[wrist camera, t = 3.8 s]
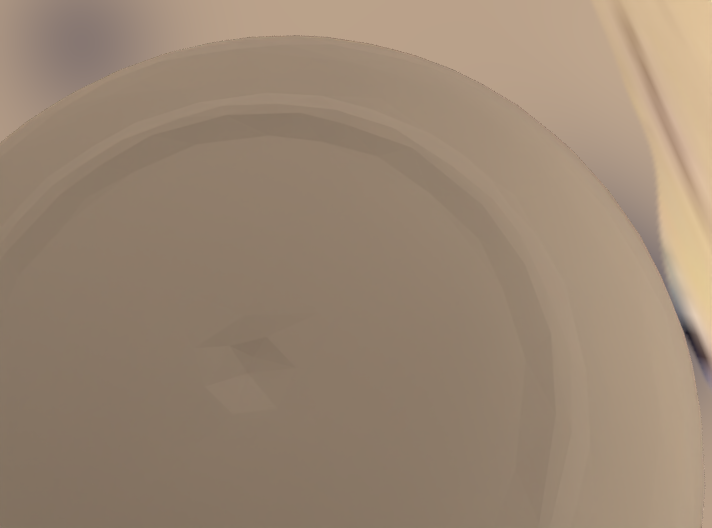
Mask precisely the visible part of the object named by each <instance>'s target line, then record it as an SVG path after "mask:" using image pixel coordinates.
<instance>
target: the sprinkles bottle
mask: <svg viewBox="0 0 712 528" xmlns="http://www.w3.org/2000/svg"><path fill="white" fill-rule="evenodd" d="M704 475H705V474H704V457H703V439H702V422H701V412H700V406H699V400H698V394H697V388H696V383H695V377H694V371H693V366H692V362H691V358H690V354H689V350H688V347H687V343H686V339H685V335H684V332H683V329H682V327H681V324H680V322H679V319H678V317H677V314H676V312H675V309H674V307H673V304H672V302H671V299H670V297H669V294H668V292H667V290H666V287H665V285H664V282H663V280H662V277H661V275H660V273H659V272H658V270H657V268H656V266H655V264H654V262H653V260H652V258H651V256H650V254H649V252H648V250H647V248H646V246H645V244H644V242H643V240H642V238H641V236H640V235H639V233H638V232H637V230H636V229H635V228H634V226H633V225H632V223H631V222H630V220H629V219H628V218H627V216H626V215H625V213H624V212H623V210H622V209H621V207H620V206H619V205H618V203H617V202H616V200H615V199H614V198H613V196H612V195H611V193H610V192H609V190H608V189H607V188H606V187H605V186H604V185H603V184H602V183H601V182H600V180H599V179H598V178H597V177H596V176H595V175H594V174H593V173H592V171H591V170H590V169H589V168H588V167H587V166H586V165H585V164H584V163H583V162H582V160H580V158H579V157H578V156H577V155H576V154H575V153H574V152H573V151H572V150H571V149H570V148H569V147H568V146H566V145H565V144H564V143H563V142H562V141H561V140H560V139H559V138H557V136H556V135H554V134H553V133H552V132H551V131H549V130H548V129H547V128H546V127H544V126H543V125H542V124H541V123H539V122H538V121H537V120H535V119H534V118H533V117H532V116H531V115H529V114H528V113H527V112H526V111H524V110H523V109H522V108H520V107H519V106H518V105H516V104H515V103H513V102H511V101H510V100H508V99H506V98H504V97H503V96H501V95H499V94H498V93H496V92H495V91H493V90H491V89H490V88H487V87H486V86H484V85H483V84H480V83H479V82H476V81H475V80H473V79H471V78H469V77H467V76H465V75H463V74H461V73H459V72H457V71H455V70H453V69H450V68H447V67H444V66H442V65H439V64H437V63H434V62H431V61H429V60H426V59H423V58H421V57H418V56H415V55H411V54H408V53H404V52H401V51H396V50H393V49H389V48H384V47H381V46H377V45H373V44H368V43H361V42H355V41H349V40H342V39H336V38H329V37H314V36H295V35H294V36H269V37H267V36H266V37H247V38H240V39H233V40H226V41H220V42H212V43H207V44H203V45H199V46H195V47H191V48H187V49H182V50H178V51H174V52H169V53H166V54H163V55H160V56H157V57H155V58H152V59H149V60H146V61H143V62H141V63H138V64H135V65H132V66H130V67H127V68H124V69H121V70H119V71H116V72H114V73H112V74H111V75H108V76H106V77H104V78H102V79H100V80H98V81H96V82H94V83H92V84H90V85H88V86H86V87H84V88H82V89H80V90H78V91H75V92H74V93H72V94H70V95H68V96H67V97H65V98H63V99H61V100H60V101H58V102H57V103H55V104H53V105H52V106H50V107H49V108H47V109H45V110H44V111H42V112H41V113H40V114H38V115H36V116H35V117H33V118H32V119H30V120H29V121H27V122H26V123H25V124H23V125H22V126H21V127H20V128H18V129H17V130H16V131H14V132H13V133H12V134H11V135H9V136H8V137H7V138H6V139H5V140H3V141H2V142H1V143H0V528H702V518H703V506H704V494H705V476H704Z"/></svg>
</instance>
